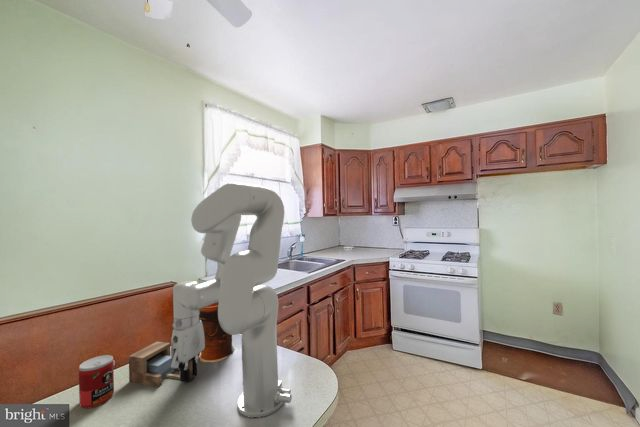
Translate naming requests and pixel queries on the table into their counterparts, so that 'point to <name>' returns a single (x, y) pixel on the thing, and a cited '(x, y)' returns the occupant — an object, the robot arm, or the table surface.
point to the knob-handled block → (165, 367)
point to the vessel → (214, 336)
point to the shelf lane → (140, 364)
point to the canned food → (96, 381)
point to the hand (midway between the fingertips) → (188, 377)
